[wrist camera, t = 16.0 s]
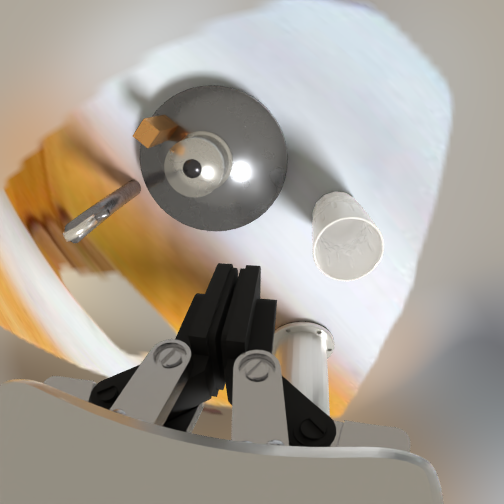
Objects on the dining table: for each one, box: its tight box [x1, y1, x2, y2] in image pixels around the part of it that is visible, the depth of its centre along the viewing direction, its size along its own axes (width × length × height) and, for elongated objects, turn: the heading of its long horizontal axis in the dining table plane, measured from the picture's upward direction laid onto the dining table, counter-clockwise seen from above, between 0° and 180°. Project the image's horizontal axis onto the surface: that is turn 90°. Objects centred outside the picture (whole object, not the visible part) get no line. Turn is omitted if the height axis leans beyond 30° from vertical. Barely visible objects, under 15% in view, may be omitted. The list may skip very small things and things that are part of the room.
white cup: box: [312, 191, 384, 281], centre depth 33 cm, size 8×8×10 cm
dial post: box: [63, 180, 141, 243], centre depth 32 cm, size 6×2×16 cm, turn 108°
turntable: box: [133, 86, 287, 231], centre depth 31 cm, size 19×19×7 cm
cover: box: [164, 131, 233, 198], centre depth 31 cm, size 8×8×4 cm
